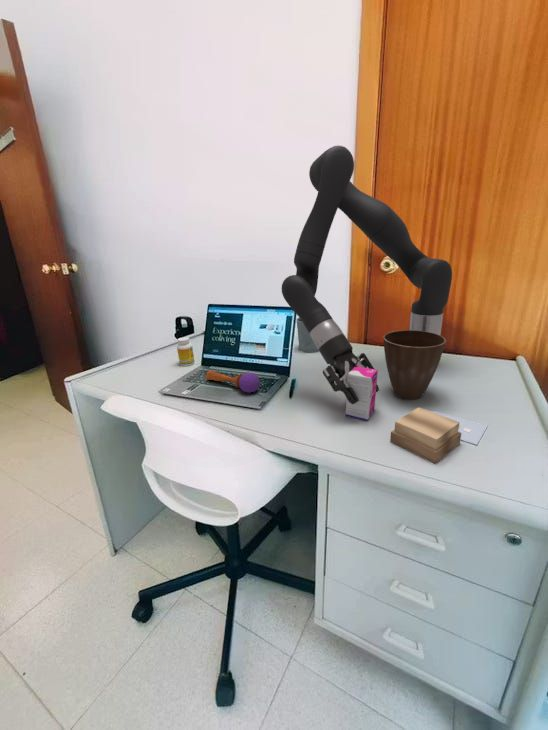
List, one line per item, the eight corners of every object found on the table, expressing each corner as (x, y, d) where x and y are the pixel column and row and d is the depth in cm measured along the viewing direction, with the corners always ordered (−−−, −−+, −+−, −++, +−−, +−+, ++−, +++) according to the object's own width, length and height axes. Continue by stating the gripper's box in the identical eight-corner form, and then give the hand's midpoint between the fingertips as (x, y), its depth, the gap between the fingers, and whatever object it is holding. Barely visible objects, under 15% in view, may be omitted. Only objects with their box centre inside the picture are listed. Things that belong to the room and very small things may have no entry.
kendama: (216, 364, 113) (263, 372, 101) (216, 382, 114) (263, 392, 102) (202, 367, 108) (250, 375, 96) (202, 386, 109) (250, 396, 97)
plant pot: (396, 378, 104) (400, 326, 98) (447, 391, 94) (455, 335, 88) (369, 395, 95) (372, 339, 89) (423, 412, 85) (430, 351, 79)
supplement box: (368, 421, 82) (370, 378, 78) (344, 416, 85) (345, 373, 81) (375, 411, 87) (378, 369, 82) (353, 406, 90) (354, 365, 85)
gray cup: (296, 353, 130) (294, 322, 126) (298, 344, 139) (297, 315, 135) (323, 353, 128) (322, 321, 124) (323, 344, 138) (323, 315, 133)
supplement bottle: (180, 362, 128) (175, 337, 125) (194, 360, 129) (191, 335, 125) (179, 367, 123) (175, 341, 120) (194, 365, 124) (191, 339, 121)
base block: (415, 424, 80) (417, 405, 78) (459, 443, 72) (463, 422, 71) (390, 441, 74) (391, 421, 72) (434, 463, 67) (437, 441, 65)
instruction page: (432, 411, 85) (432, 410, 85) (487, 426, 77) (487, 425, 77) (418, 427, 79) (418, 425, 79) (476, 445, 71) (477, 444, 71)
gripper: (317, 340, 80) (356, 401, 76) (357, 327, 88) (394, 381, 84) (303, 356, 86) (337, 413, 82) (341, 342, 94) (374, 394, 90)
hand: (366, 397), depth 83 cm, fingers closed on supplement box, 7 cm apart
